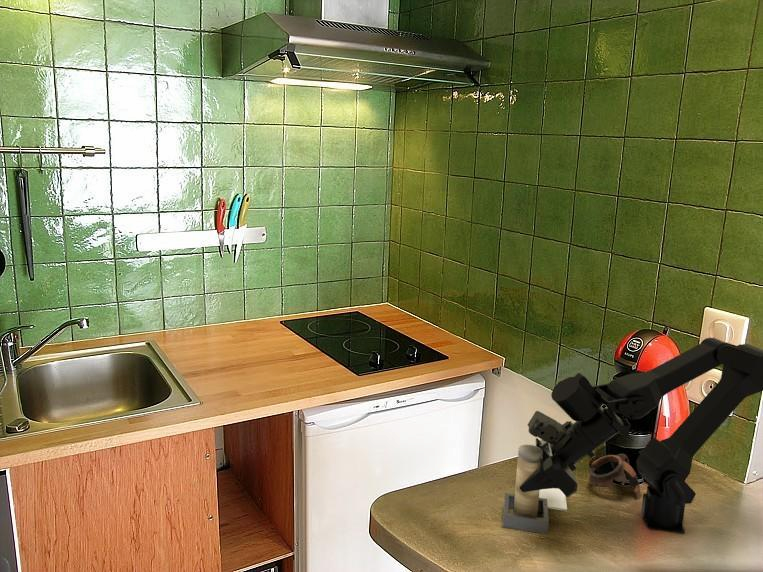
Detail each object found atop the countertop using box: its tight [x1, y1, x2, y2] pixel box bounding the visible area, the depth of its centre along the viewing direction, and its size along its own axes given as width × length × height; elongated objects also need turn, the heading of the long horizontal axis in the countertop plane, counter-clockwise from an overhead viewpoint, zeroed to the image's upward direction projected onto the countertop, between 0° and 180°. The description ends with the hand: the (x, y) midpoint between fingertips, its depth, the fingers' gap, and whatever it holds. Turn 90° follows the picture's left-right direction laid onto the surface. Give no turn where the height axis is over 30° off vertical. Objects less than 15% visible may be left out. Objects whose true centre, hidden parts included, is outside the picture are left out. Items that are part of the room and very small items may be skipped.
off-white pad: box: [539, 488, 568, 512], centre depth 126 cm, size 8×8×1 cm
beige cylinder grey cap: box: [512, 444, 543, 517], centre depth 117 cm, size 4×4×14 cm
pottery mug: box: [587, 453, 641, 500], centre depth 130 cm, size 12×10×8 cm
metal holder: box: [502, 493, 550, 535], centre depth 118 cm, size 8×8×2 cm
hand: (520, 483), depth 117 cm, fingers closed on beige cylinder grey cap, 4 cm apart
